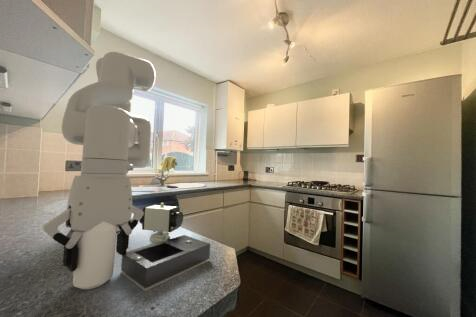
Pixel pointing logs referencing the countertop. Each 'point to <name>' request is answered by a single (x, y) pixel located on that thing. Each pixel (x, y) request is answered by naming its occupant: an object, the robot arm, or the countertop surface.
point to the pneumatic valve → (161, 221)
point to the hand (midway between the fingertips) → (98, 259)
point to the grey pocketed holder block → (164, 260)
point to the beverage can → (95, 256)
